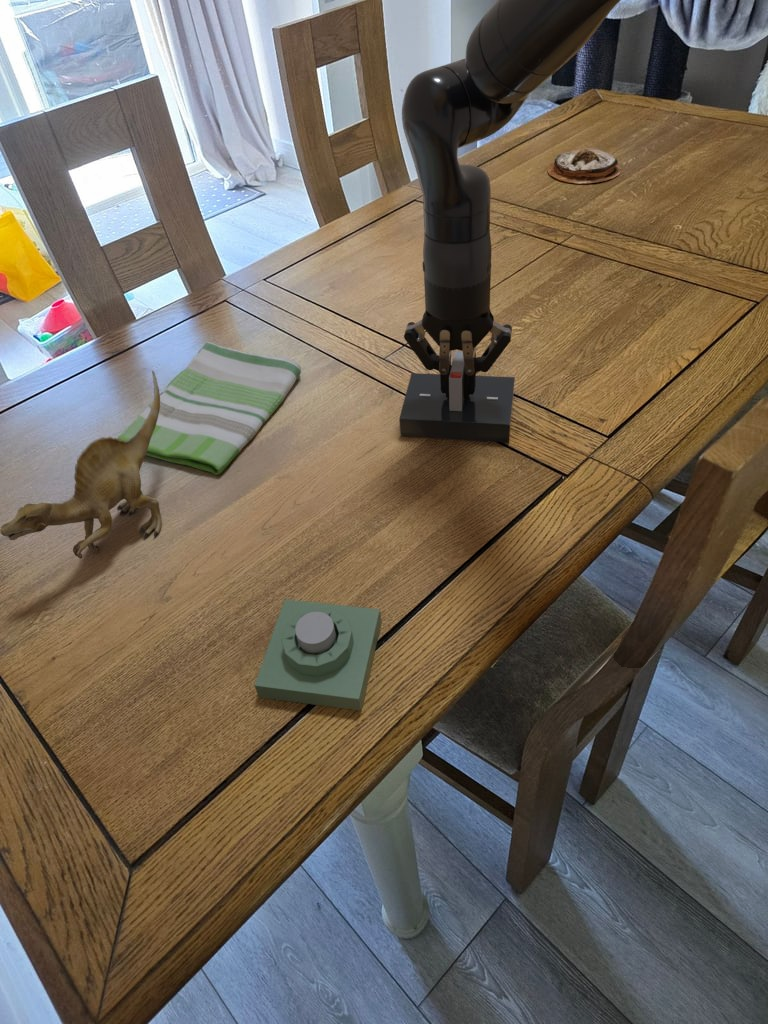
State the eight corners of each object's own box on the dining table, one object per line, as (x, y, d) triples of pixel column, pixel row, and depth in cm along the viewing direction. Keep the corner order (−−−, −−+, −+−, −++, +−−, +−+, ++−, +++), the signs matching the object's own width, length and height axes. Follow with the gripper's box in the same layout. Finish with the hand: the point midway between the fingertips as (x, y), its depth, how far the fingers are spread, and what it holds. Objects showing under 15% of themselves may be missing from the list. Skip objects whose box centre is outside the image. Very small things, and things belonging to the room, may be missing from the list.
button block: (381, 621, 71) (378, 598, 68) (361, 711, 64) (356, 689, 61) (288, 611, 73) (281, 588, 70) (259, 697, 66) (249, 675, 63)
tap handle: (454, 383, 93) (454, 349, 89) (466, 383, 92) (466, 349, 89) (449, 411, 89) (448, 376, 85) (461, 411, 88) (461, 377, 85)
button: (339, 624, 67) (337, 613, 65) (331, 656, 64) (328, 645, 63) (303, 620, 67) (300, 609, 66) (293, 651, 65) (290, 641, 64)
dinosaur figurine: (38, 591, 77) (-22, 508, 68) (179, 444, 93) (147, 360, 84) (91, 611, 75) (36, 528, 65) (226, 457, 91) (199, 372, 81)
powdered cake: (605, 153, 152) (607, 132, 149) (632, 178, 141) (636, 156, 138) (539, 162, 151) (540, 142, 148) (561, 188, 140) (564, 167, 137)
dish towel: (306, 375, 102) (302, 355, 100) (225, 478, 88) (218, 457, 85) (208, 358, 108) (201, 338, 105) (116, 452, 93) (107, 431, 91)
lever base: (513, 395, 95) (514, 376, 93) (509, 442, 88) (510, 423, 86) (412, 390, 97) (411, 372, 95) (400, 436, 91) (399, 417, 88)
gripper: (521, 253, 79) (513, 379, 92) (402, 252, 82) (410, 375, 94) (517, 286, 74) (509, 415, 87) (391, 284, 77) (401, 409, 89)
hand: (458, 393), depth 90 cm, fingers closed on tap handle
